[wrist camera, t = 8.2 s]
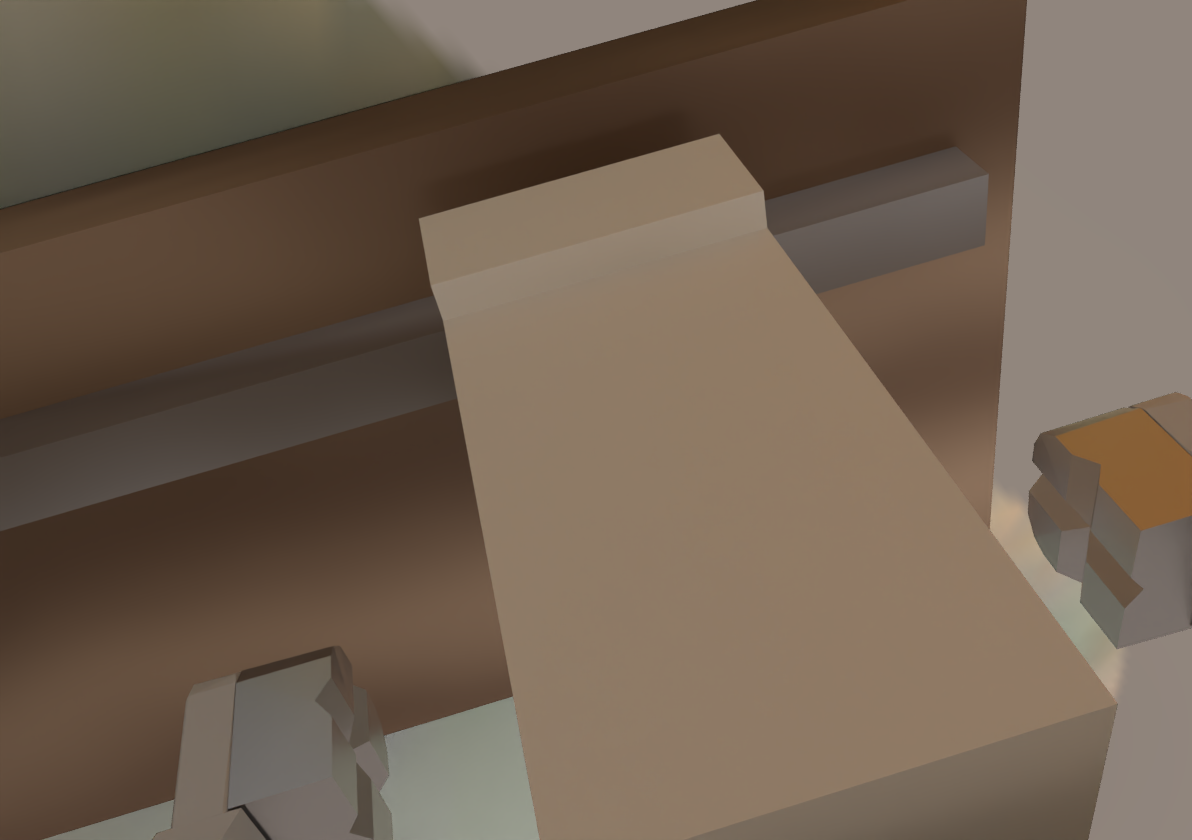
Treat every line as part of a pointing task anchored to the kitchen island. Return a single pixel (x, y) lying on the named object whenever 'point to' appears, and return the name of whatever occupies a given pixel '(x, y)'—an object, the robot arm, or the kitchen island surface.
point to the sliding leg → (735, 539)
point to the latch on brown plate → (422, 360)
